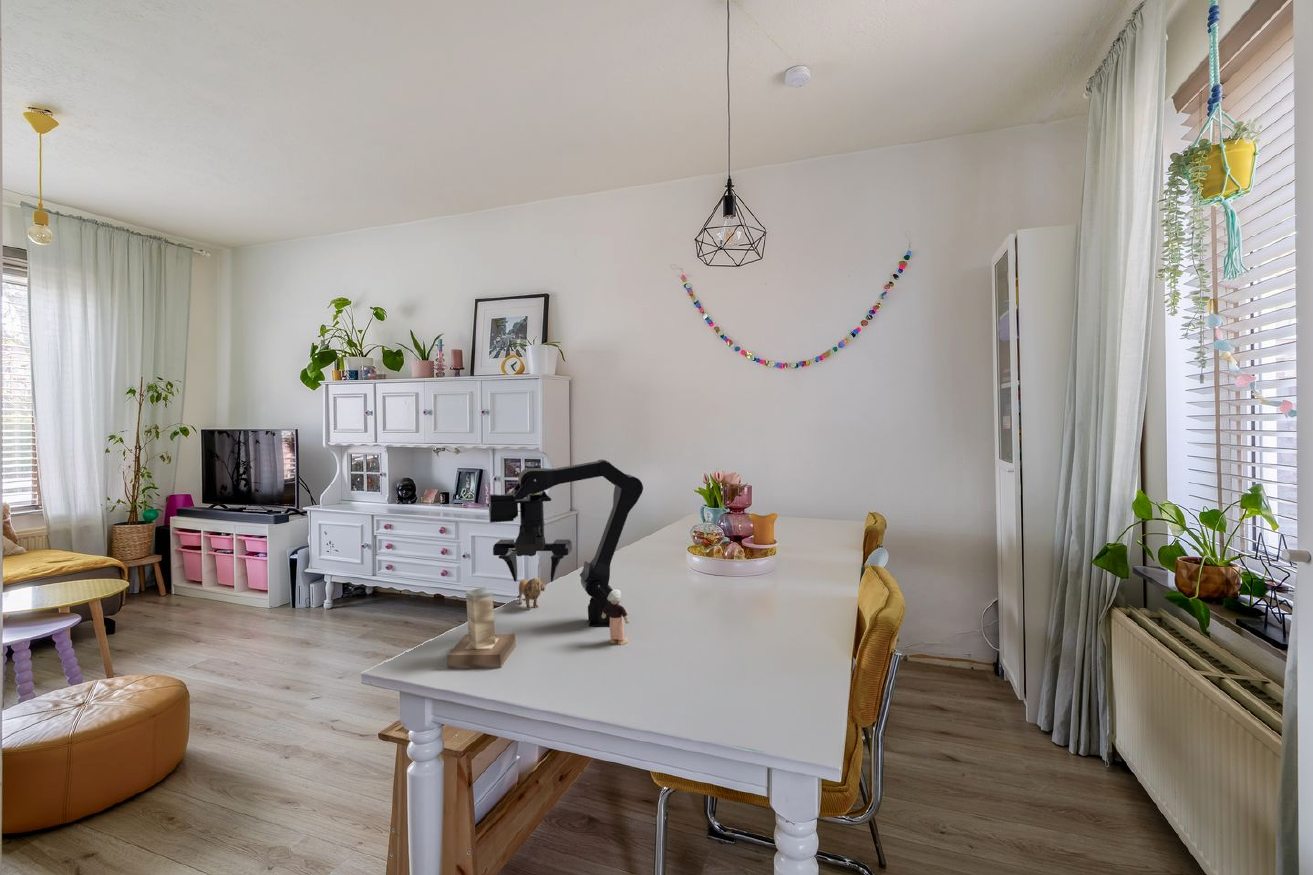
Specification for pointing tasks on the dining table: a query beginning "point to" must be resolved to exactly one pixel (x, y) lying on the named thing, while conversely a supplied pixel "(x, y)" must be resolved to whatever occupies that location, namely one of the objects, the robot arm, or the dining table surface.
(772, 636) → the dining table surface
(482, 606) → the oak column
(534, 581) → the lion figurine
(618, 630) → the grandmother figurine
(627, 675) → the dining table surface
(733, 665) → the dining table surface
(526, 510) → the robot arm
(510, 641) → the plinth
